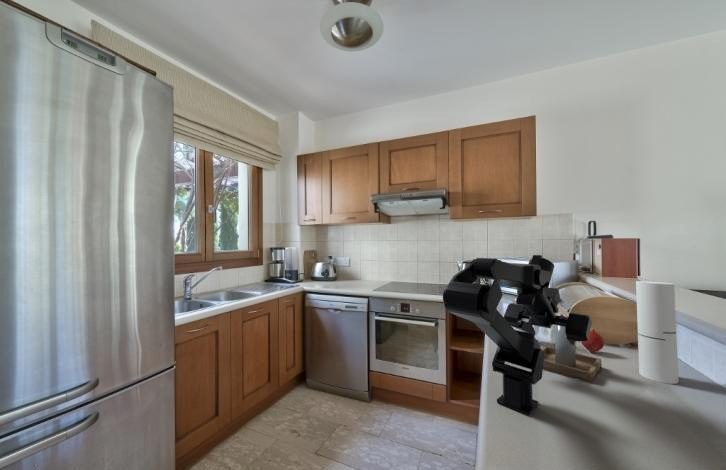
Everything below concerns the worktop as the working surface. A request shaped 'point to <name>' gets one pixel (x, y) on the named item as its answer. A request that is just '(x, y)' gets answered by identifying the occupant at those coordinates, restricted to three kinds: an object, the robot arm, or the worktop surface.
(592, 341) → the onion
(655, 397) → the worktop surface
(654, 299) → the cylindrical container
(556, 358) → the cylinder
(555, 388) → the worktop surface
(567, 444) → the worktop surface
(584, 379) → the walnut tray
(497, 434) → the worktop surface
